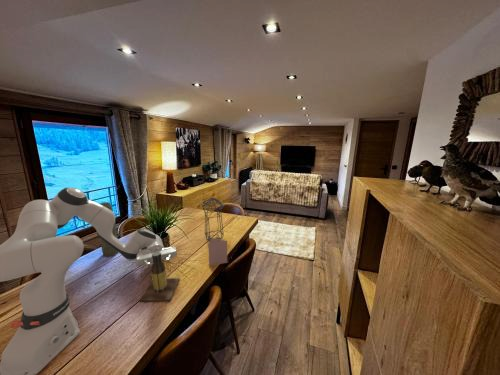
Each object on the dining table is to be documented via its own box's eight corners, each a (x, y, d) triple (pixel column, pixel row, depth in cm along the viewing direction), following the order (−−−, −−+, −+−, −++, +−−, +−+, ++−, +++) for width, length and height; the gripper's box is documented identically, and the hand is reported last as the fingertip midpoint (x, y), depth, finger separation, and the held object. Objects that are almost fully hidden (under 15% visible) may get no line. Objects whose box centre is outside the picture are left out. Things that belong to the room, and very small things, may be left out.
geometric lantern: (226, 243, 148) (225, 199, 140) (205, 247, 142) (203, 201, 134) (221, 234, 162) (220, 193, 154) (202, 237, 157) (200, 195, 148)
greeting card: (227, 261, 125) (227, 240, 122) (223, 268, 118) (222, 246, 115) (211, 258, 128) (211, 237, 125) (206, 265, 121) (205, 243, 118)
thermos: (109, 259, 125) (102, 206, 117) (98, 254, 129) (90, 204, 122) (123, 252, 132) (117, 203, 125) (112, 248, 137) (105, 200, 130)
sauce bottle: (168, 283, 102) (165, 249, 98) (166, 292, 96) (163, 256, 92) (154, 285, 101) (151, 250, 96) (152, 294, 95) (148, 257, 90)
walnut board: (170, 301, 92) (169, 299, 92) (139, 302, 91) (139, 300, 91) (179, 280, 107) (179, 278, 107) (153, 280, 106) (152, 278, 106)
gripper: (175, 251, 119) (179, 263, 108) (136, 260, 109) (137, 274, 97) (174, 242, 118) (179, 252, 106) (135, 249, 108) (135, 262, 96)
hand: (158, 263), depth 102 cm, fingers open, 8 cm apart
